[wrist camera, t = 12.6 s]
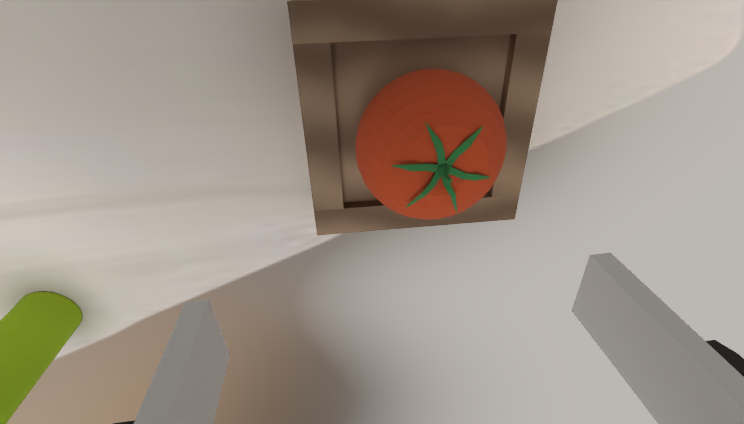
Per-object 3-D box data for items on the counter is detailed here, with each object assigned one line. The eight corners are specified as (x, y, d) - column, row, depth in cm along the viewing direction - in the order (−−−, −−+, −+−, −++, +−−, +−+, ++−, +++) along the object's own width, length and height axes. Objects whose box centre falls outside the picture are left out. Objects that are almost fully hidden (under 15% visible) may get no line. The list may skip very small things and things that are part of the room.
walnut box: (293, -1, 28) (287, 1, 24) (525, -10, 29) (559, -9, 25) (318, 206, 37) (317, 235, 33) (493, 193, 39) (514, 218, 34)
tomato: (503, 116, 30) (573, 167, 22) (416, 204, 34) (446, 277, 25) (414, 25, 26) (456, 43, 18) (324, 135, 30) (323, 195, 21)
